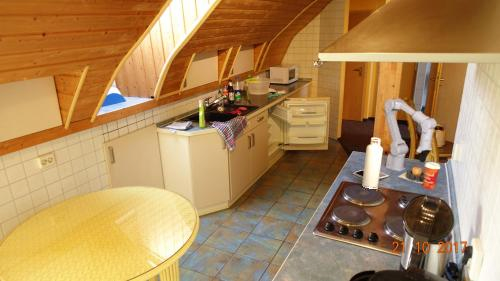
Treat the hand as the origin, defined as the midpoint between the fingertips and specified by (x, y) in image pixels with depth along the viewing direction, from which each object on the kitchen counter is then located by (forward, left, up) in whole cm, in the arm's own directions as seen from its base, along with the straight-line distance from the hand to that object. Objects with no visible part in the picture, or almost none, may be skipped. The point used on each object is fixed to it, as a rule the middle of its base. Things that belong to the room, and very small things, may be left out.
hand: (422, 161), depth 204 cm
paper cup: (+10, -12, -10) cm, 18 cm away
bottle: (-11, -37, -10) cm, 40 cm away
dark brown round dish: (0, -4, -9) cm, 10 cm away
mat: (-1, -4, -10) cm, 10 cm away
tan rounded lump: (0, -4, -9) cm, 9 cm away
